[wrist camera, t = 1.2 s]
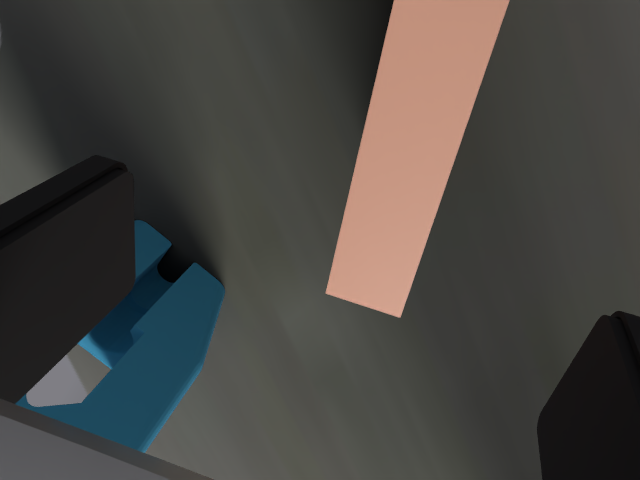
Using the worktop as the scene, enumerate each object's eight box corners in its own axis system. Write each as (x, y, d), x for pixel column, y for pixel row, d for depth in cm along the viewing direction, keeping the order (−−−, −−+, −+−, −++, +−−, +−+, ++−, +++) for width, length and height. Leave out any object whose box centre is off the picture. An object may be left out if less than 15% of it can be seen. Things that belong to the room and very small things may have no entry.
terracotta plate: (506, -40, 23) (521, -34, 13) (430, 192, 29) (400, 317, 19) (442, -54, 24) (407, -58, 14) (380, 178, 30) (325, 293, 20)
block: (92, 241, 39) (-207, 460, 22) (117, 198, 36) (-202, 411, 19) (215, 338, 40) (21, 614, 23) (248, 304, 38) (55, 588, 21)
